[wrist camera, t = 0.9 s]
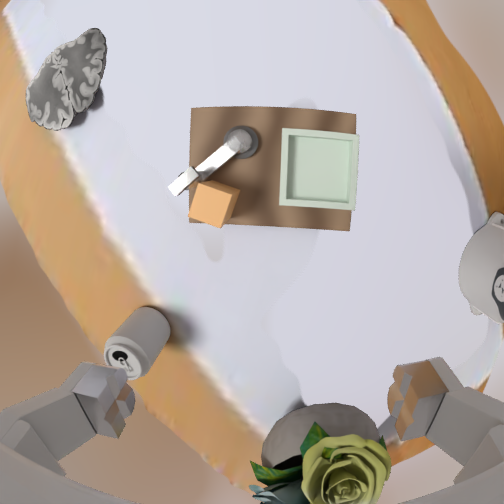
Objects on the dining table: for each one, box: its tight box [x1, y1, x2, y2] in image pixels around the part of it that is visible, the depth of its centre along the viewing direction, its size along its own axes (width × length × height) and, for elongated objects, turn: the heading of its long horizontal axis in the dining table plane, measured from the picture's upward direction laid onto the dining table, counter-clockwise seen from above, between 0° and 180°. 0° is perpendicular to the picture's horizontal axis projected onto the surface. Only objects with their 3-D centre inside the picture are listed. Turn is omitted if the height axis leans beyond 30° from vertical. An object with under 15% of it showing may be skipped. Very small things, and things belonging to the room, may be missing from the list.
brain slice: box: [26, 28, 107, 131], centre depth 36 cm, size 20×17×3 cm
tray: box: [279, 128, 359, 210], centre depth 36 cm, size 10×10×2 cm
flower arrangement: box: [249, 403, 391, 504], centre depth 39 cm, size 25×25×24 cm
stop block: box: [188, 180, 240, 228], centre depth 36 cm, size 4×4×7 cm
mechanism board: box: [189, 106, 356, 231], centre depth 37 cm, size 22×16×2 cm
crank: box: [168, 129, 252, 196], centre depth 34 cm, size 11×3×6 cm, turn 129°
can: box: [104, 307, 170, 380], centre depth 42 cm, size 8×8×12 cm
